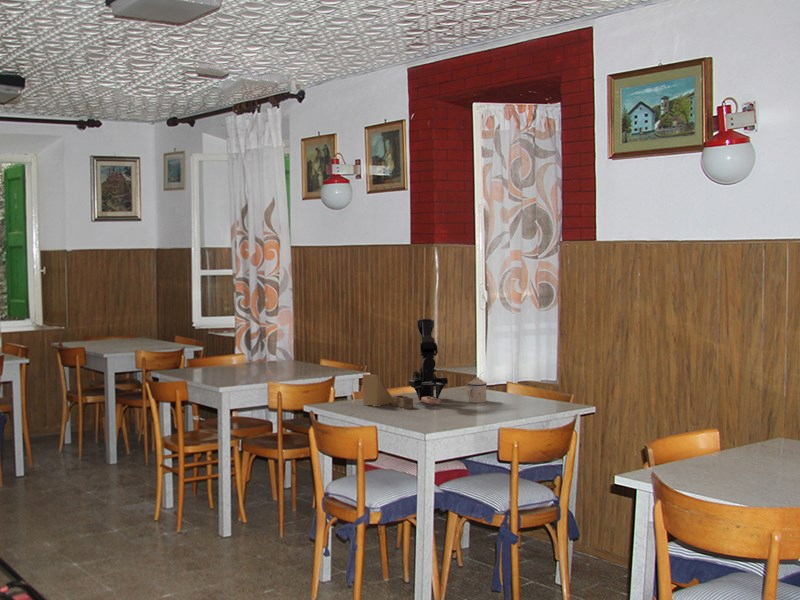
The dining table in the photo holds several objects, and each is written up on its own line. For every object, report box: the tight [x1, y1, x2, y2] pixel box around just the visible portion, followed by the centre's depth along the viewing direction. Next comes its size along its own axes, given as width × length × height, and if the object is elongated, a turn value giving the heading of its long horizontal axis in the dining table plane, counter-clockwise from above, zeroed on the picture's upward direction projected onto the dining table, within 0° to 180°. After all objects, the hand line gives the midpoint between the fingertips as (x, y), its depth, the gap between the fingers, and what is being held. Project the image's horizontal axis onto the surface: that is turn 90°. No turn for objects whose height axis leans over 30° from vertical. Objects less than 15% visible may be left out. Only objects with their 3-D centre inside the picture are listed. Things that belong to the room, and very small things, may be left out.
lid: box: [416, 396, 441, 404], centre depth 430 cm, size 11×7×3 cm, turn 29°
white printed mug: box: [466, 376, 487, 404], centre depth 435 cm, size 12×9×12 cm
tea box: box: [392, 394, 414, 409], centre depth 423 cm, size 10×5×4 cm, turn 29°
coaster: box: [415, 401, 443, 407], centre depth 430 cm, size 9×9×1 cm
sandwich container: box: [362, 373, 393, 407], centre depth 433 cm, size 9×15×15 cm, turn 144°
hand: (428, 399), depth 430 cm, fingers open, 9 cm apart
